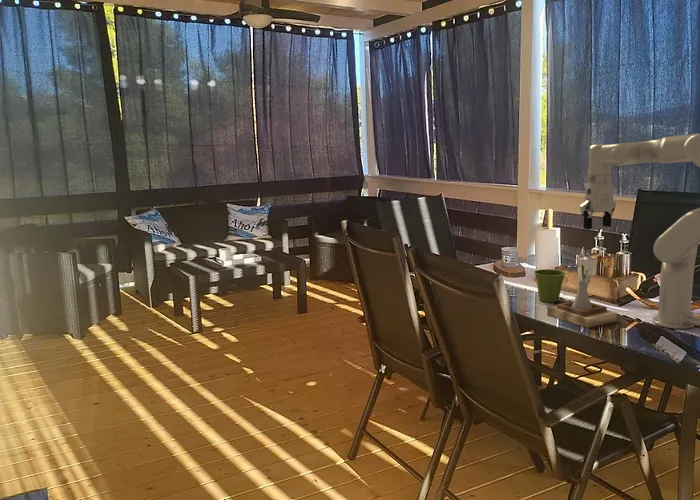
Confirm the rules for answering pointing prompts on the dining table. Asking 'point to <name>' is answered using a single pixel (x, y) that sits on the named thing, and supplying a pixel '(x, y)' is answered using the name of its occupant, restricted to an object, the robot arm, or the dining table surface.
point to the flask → (582, 297)
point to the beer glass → (586, 268)
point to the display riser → (582, 314)
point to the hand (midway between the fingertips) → (597, 227)
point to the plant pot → (549, 284)
